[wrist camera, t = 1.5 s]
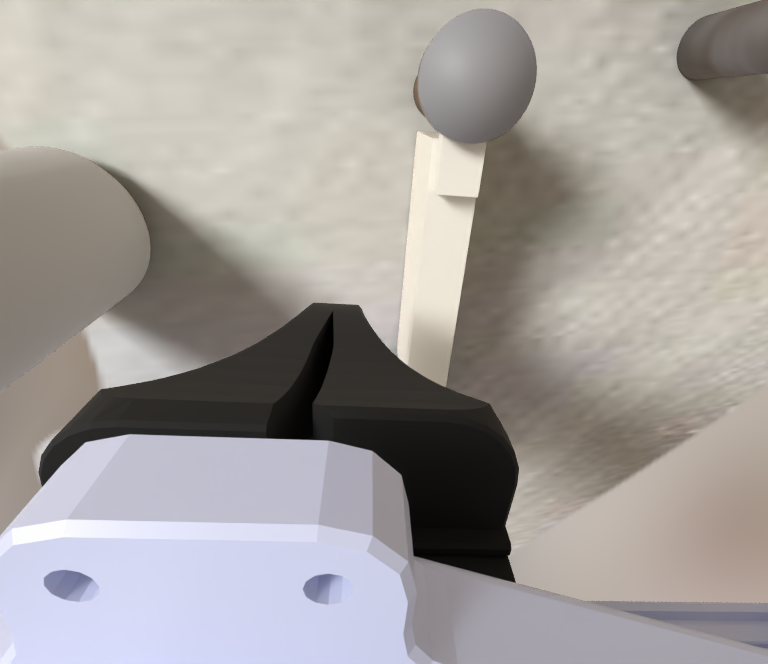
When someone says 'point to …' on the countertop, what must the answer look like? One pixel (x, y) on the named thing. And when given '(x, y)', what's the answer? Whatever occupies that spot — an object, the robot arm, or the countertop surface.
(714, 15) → the posts
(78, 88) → the countertop surface
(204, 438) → the robot arm
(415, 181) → the gate
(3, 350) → the beverage can
